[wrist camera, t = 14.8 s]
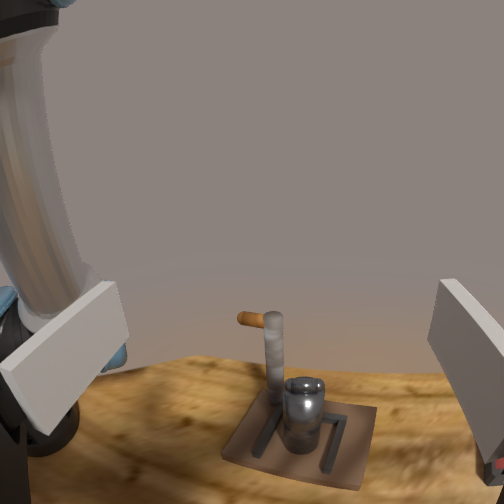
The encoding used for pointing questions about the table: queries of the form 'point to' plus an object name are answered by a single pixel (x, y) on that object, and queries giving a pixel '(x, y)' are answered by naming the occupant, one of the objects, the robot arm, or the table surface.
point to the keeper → (272, 427)
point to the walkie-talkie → (494, 473)
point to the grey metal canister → (302, 413)
